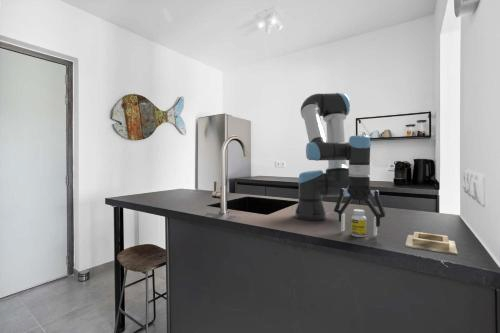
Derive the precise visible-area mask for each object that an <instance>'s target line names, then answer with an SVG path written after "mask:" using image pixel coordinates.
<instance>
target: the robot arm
mask: <svg viewBox="0 0 500 333" xmlns="http://www.w3.org/2000/svg"><path fill="white" fill-rule="evenodd" d="M350 105H351V104H350V98H349V97H348V95H347V94H346V93H340V92H336V93H315V94H311V95H309V96H308V97H307V98H305V100H304V101H303V102H302V104H301V107H300V115H301V116H300V117H301V118H302V119H303V121H304V125H305V128H306V134H307V137H308V142H307V143H306V146H305V156H306V157H305V158H306V159H307V160H308V161H327V162H328V166H327V168H326V169H325V172H323V170H321V169H317V170H308V171H303V172H301V173H299V174H298V181H297V183H298V203H297V206H296V209H295V211H294V212H295V213H294V215H295V216H294V217H295V218H296V219H298V220H299V219H300V220H303V221H324V220H326V219H327V213H326V212H327V211H326V209H325V206H324V203H323V197H337V198H338V199H337V201H336V204H335V207H334V209H333V212H334V213H337V215H338V222H340V227H341V228H340V231H341V232H344V231H345V229H346V213H345V212H344V211H345V210H346V209H347V208H348V207H349V205H350V204H351V202H352V201H364V203H365V204H367V206H368V208H369V209H370V211H371V212H372V213H373V215H374V217H373V236H374V237H376V236H377V235H378V227H380V226H381V219H382V218H385V217H386V216H387V213H386V212H385V208H384V205H383V203H382V201H381V198H380V191H379V189H375V190H374V189H373V190H372V189H371V185H370V184H371V183H370V182H371V180H370V179H371V178H370V175H371V165H370V164H371V163H370V162H371V145H372V144H371V139H370V138H371V137H370V135H364V134H363V135H351V136H350V137H348V142H347V141H345V140H346V138H345V127H344V126H345V125H344V124H345V123H344V122H345V120H347V116H349V114H350V107H351V106H350ZM321 117H322V120H321ZM322 121H323V122H325V123H326V133H325V129H324V126H323V123H322ZM347 161H348V166H347ZM370 195H372V197H374V200H375V203H376V205H377V208H376V206H375V205H374V204H373V202H372V200H371V198H370ZM344 197H348V198H347V200H346V201H345V202H344V204H343V205H342V202H343V200H344ZM341 205H342V206H341Z"/></svg>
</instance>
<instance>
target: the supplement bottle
mask: <svg viewBox="0 0 500 333" xmlns="http://www.w3.org/2000/svg"><path fill="white" fill-rule="evenodd" d="M352 211H353V212H352V213H353V214H352V216H351V218H350V219H351V222H350V223H351V224H350V226H351V227H350V228H351V230H350V232H351V233H350V234H351V236H353V237H356V238H357V237H358V238H364V237H366V236H367V217H366V216H365V210H364V209H359V208H354V209H353V210H352Z"/></svg>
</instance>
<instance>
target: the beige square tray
mask: <svg viewBox="0 0 500 333" xmlns="http://www.w3.org/2000/svg"><path fill="white" fill-rule="evenodd" d="M405 241H406V242H405V245H404V246H405V247H407V248H413V249H420V250H425V251H431V252H432V251H433V252H438V253H444V254H449V255H451V254H452V255H456V256H457V255H458V250H457V245H456V242H455V240H449V237H448V235H442V234H435V233H429V232H428V233H427V232H419V231H414V232H413V234H408V235H407V237H406V240H405Z"/></svg>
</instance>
